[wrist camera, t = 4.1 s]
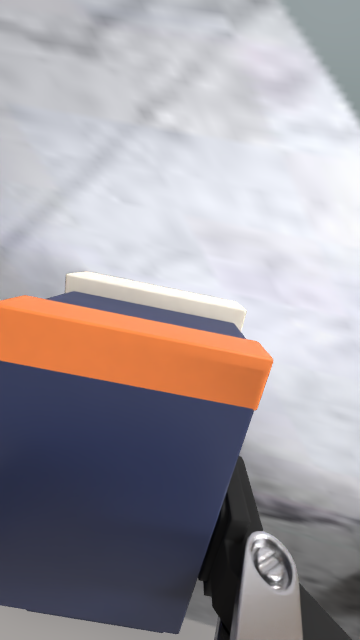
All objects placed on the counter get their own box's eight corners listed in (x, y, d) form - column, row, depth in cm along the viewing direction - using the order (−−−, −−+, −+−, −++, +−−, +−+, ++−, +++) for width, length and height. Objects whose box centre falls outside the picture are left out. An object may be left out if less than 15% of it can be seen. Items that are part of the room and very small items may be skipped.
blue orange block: (85, 270, 9) (-29, 283, 4) (237, 301, 9) (293, 347, 4) (65, 513, 12) (-9, 668, 7) (174, 532, 12) (167, 696, 8)
